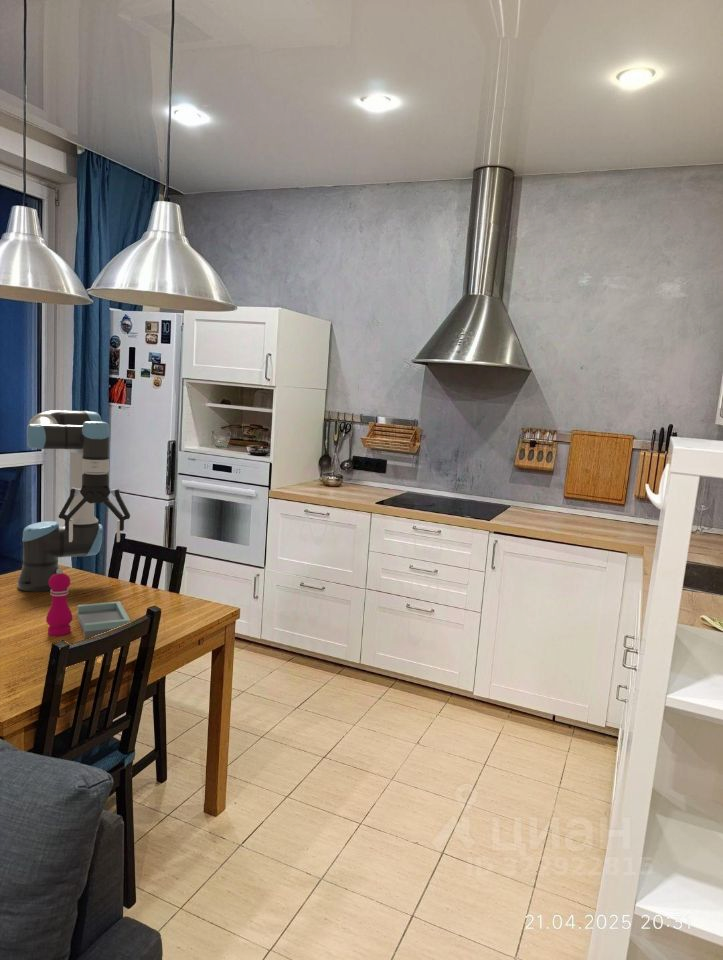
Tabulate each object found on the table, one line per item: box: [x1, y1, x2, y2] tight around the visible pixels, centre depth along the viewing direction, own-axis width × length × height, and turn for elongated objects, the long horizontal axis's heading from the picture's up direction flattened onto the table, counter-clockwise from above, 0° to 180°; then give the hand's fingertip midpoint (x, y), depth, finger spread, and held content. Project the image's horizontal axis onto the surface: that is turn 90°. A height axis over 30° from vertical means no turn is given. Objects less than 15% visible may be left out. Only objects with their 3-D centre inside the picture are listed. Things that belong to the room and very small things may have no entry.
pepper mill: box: [45, 568, 73, 637], centre depth 199 cm, size 7×7×20 cm
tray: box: [77, 600, 131, 639], centre depth 209 cm, size 19×13×4 cm
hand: (94, 541), depth 202 cm, fingers open, 13 cm apart
